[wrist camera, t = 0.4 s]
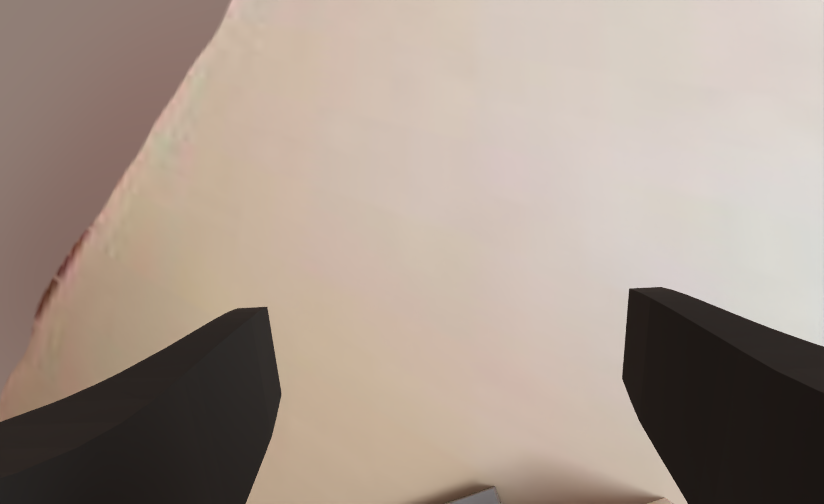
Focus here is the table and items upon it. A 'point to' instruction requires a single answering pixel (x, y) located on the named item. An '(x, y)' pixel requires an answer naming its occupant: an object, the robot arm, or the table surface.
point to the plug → (661, 501)
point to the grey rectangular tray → (479, 498)
